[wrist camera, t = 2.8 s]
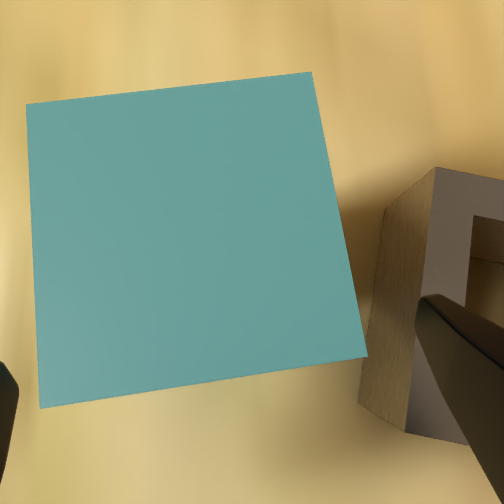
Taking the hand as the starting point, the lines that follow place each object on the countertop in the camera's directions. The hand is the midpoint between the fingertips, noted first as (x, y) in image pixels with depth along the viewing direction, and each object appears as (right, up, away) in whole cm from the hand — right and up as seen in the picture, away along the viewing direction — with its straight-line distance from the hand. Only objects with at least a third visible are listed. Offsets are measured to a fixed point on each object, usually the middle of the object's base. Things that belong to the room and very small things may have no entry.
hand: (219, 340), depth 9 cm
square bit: (-1, 0, +9) cm, 9 cm away
